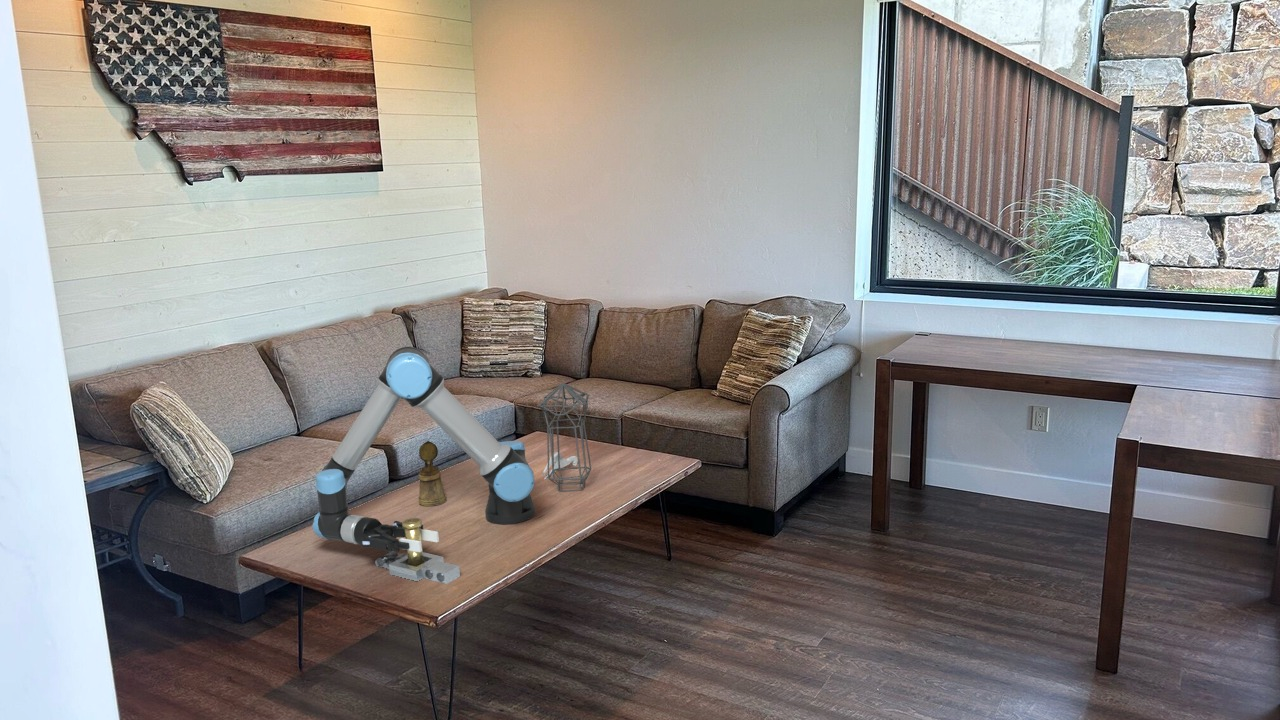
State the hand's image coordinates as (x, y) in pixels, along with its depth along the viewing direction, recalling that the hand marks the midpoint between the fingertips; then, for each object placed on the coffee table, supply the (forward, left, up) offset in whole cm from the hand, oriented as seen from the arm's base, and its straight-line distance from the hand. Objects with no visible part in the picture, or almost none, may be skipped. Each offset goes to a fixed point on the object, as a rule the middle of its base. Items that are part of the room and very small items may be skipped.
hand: (429, 541), depth 243 cm
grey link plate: (+4, -3, -9) cm, 10 cm away
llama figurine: (-38, -76, -9) cm, 85 cm away
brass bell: (+4, -60, -9) cm, 61 cm away
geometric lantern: (-41, -60, -9) cm, 73 cm away
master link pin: (+4, -3, -9) cm, 10 cm away
